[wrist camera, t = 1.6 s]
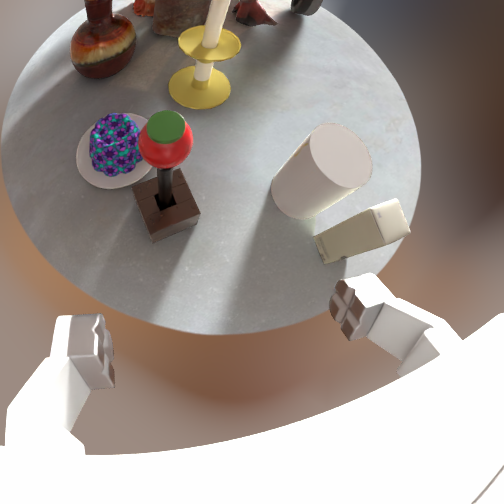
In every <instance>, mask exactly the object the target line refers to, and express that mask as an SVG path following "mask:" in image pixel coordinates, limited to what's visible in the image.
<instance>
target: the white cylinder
mask: <svg viewBox="0 0 504 504" xmlns="http://www.w3.org/2000/svg"><path fill="white" fill-rule="evenodd" d="M371 174H372V160H371V156H370V154H369V151H368V149H367V147H366V146H365V144H364V143H363V141H362V140H361V139H360V138H359V137H358V136H357V135H356V134H355V133H354V132H353V131H351V130H350V129H348V128H347V127H345V126H342V125H340V124H336V123H323V124H321V125H319V126H317V127H316V128H315V129H314V130H313V131H312V132H311V133H310V135H309V136H308V137H307V138H306V139H305V140H304V141H303V143H302V144H301V145H300V146H299V147H298V148H297V150H296V151H295V152H294V153H293V154H292V155H291V157H290V158H289V159H288V160H287V161H286V162H285V164H284V165H283V166H282V167H281V168H280V170H279V171H278V172H277V173H276V174H275V176H274V177H273V180H272V183H271V193H272V197H273V200H274V202H275V203H276V205H277V206H278V208H279V209H280V210H281V211H282V212H283V213H285V214H286V215H288V216H289V217H292V218H294V219H300V220H304V219H309V218H312V217H313V216H315V215H317V214H318V213H320V212H321V211H323V210H325V209H326V208H328V207H330V206H331V205H333V204H334V203H336V202H338V201H339V200H341V199H342V198H344V197H346V196H347V195H349V194H351V193H352V192H354V191H355V190H357V189H359V188H360V187H362V186H363V185H365V184H366V183H367V182H368V181H369V179H370V177H371Z"/></svg>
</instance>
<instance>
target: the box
mask: <svg viewBox="0 0 504 504" xmlns="http://www.w3.org/2000/svg"><path fill="white" fill-rule="evenodd" d="M408 234H410V229H409V227H408V224H407V221H406V219H405V216H404V213H403V211H402V209H401V206H400V204H399V201H398V199H393V200H390V201H387V202H384V203H381V204H379V205H376V206H373V207H371V208H369V209H367V210H365V211H363V212H361V213H359V214H357V215H355V216H353V217H351V218H349V219H347V220H345V221H343V222H341V223H339V224H337V225H335V226H333V227H332V228H330V229H328V230H326V231H324V232H322V233H320V234H318V235H316V236H314V237H313V238H314V241H315V243H316V246H317V248H318V251H319V253H320V256H321V258H322V260H323V263H324V264H329V263H332V262H335V261H339V260H342V259H345V258H348V257H351V256H354V255H357V254H361V253H364V252H367V251H370V250H373V249H376V248H379V247H383V246H386V245H389V244H391V243H393V242H395V241H397V240H399V239H401V238H403V237H405V236H406V235H408Z"/></svg>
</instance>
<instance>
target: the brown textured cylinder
mask: <svg viewBox="0 0 504 504" xmlns="http://www.w3.org/2000/svg"><path fill="white" fill-rule="evenodd" d="M211 1H212V0H155V7H154V15H153V25H152V29H153V31H154V32H155V33H156V34H160V35H168V36H172V37H178V38H179V37H180V35H181V33H182V32H184V31H186V30H187V29H189V28H192V27H196V26H201V25H205V22H206V18H207V15H208V11H209V8H210V4H211Z"/></svg>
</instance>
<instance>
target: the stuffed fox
mask: <svg viewBox="0 0 504 504" xmlns="http://www.w3.org/2000/svg"><path fill="white" fill-rule="evenodd" d="M235 11H236V12H237V15H236V21H237V22H240V23H241V24H245V25H248V26H252V27H253V26H256V25H261V24H268V25H273V26H275V25H279V24H278V23H277V22H275V21H274V20H273V19H272V18H271V17H270V16H269V15H267V14H266V11H265V9H264V8H263V6H262V5H261V4H260V3H259V1H258V0H240V2H239V3H238V4H237V5H236V6H235V7H234V10H233V11H232V13H233V12H235Z"/></svg>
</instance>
